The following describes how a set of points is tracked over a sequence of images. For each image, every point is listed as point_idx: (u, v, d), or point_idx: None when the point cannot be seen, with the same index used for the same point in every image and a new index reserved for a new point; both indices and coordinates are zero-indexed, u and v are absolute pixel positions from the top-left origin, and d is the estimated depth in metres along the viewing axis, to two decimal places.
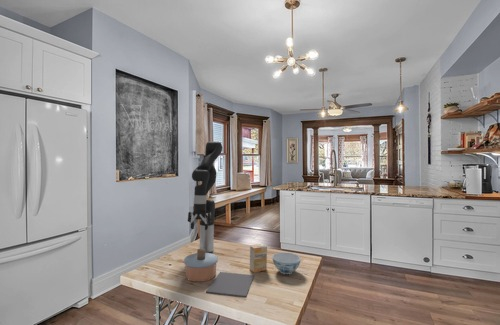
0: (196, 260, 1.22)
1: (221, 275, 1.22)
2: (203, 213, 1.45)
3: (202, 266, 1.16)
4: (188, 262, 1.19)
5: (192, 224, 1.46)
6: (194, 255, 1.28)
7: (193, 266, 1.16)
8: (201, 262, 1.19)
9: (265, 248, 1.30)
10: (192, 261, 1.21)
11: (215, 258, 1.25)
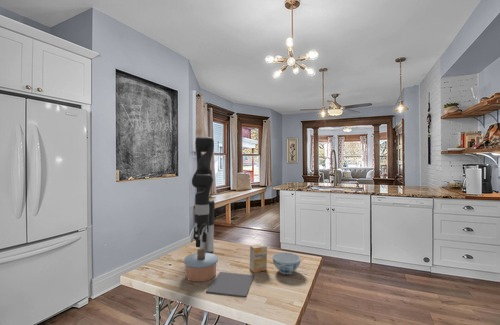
0: (196, 260, 1.22)
1: (221, 275, 1.22)
2: (205, 223, 1.27)
3: (202, 266, 1.16)
4: (188, 262, 1.19)
5: (200, 240, 1.20)
6: (194, 255, 1.28)
7: (193, 266, 1.16)
8: (201, 262, 1.19)
9: (265, 248, 1.30)
10: (192, 261, 1.21)
11: (215, 258, 1.25)
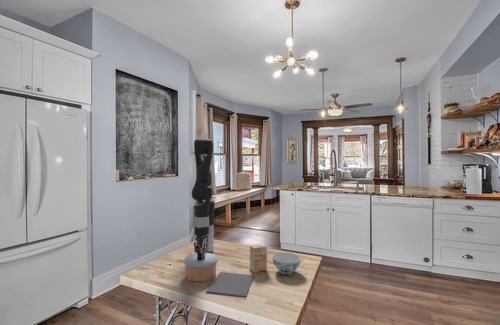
0: (196, 260, 1.22)
1: (221, 275, 1.22)
2: (205, 235, 1.27)
3: (202, 266, 1.16)
4: (188, 262, 1.19)
5: (201, 254, 1.22)
6: (194, 255, 1.28)
7: (193, 266, 1.16)
8: (201, 262, 1.19)
9: (265, 248, 1.30)
10: (192, 261, 1.21)
11: (215, 258, 1.25)
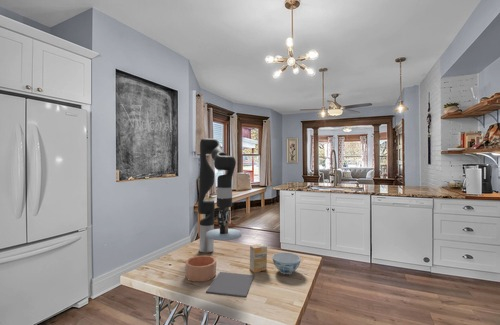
0: (219, 234, 1.14)
1: (221, 275, 1.22)
2: (228, 208, 1.20)
3: (226, 238, 1.09)
4: (211, 235, 1.12)
5: None
6: (216, 230, 1.21)
7: (217, 238, 1.09)
8: (225, 235, 1.12)
9: (265, 248, 1.30)
10: (215, 234, 1.13)
11: (239, 232, 1.17)
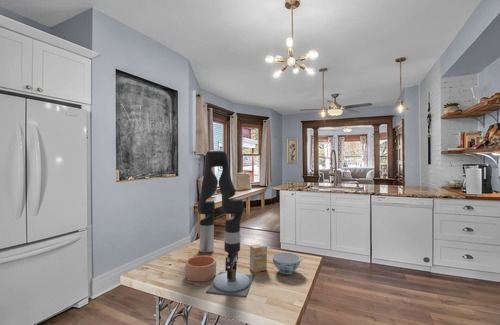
0: (227, 282, 1.13)
1: None
2: None
3: (235, 290, 1.07)
4: (219, 285, 1.10)
5: None
6: (223, 276, 1.19)
7: (225, 290, 1.07)
8: (233, 285, 1.10)
9: (265, 248, 1.30)
10: (223, 283, 1.11)
11: (247, 279, 1.16)
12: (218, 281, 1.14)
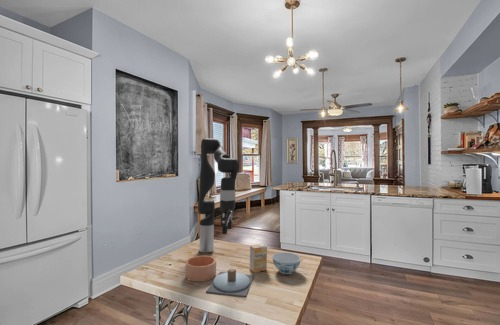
0: (227, 282, 1.13)
1: None
2: (231, 210, 1.22)
3: (235, 290, 1.07)
4: (219, 285, 1.10)
5: (227, 227, 1.16)
6: (223, 276, 1.19)
7: (225, 290, 1.07)
8: (233, 285, 1.10)
9: (265, 248, 1.30)
10: (223, 283, 1.11)
11: (247, 279, 1.16)
12: (218, 281, 1.14)
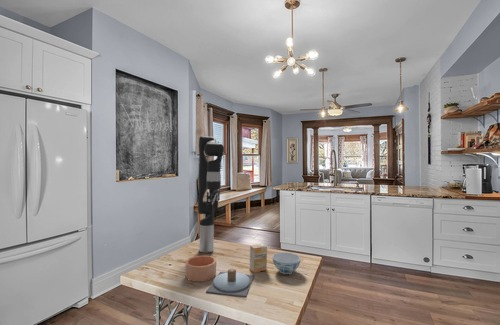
0: (227, 282, 1.13)
1: None
2: (217, 191, 1.32)
3: (235, 290, 1.07)
4: (219, 285, 1.10)
5: (212, 206, 1.26)
6: (223, 276, 1.19)
7: (225, 290, 1.07)
8: (233, 285, 1.10)
9: (265, 248, 1.30)
10: (223, 283, 1.11)
11: (247, 279, 1.16)
12: (218, 281, 1.14)
